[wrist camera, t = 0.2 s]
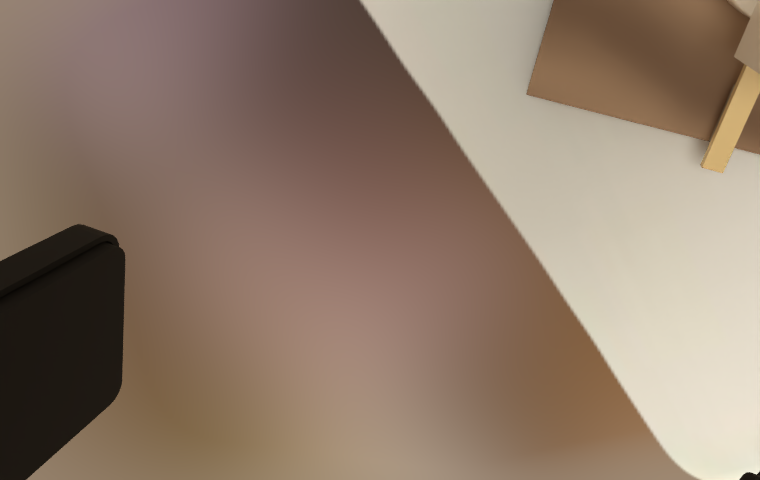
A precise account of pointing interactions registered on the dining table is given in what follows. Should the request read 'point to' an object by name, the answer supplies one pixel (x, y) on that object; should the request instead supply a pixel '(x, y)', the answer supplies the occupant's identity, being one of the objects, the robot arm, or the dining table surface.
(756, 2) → the dial knob
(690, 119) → the dial board
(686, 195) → the dining table surface
